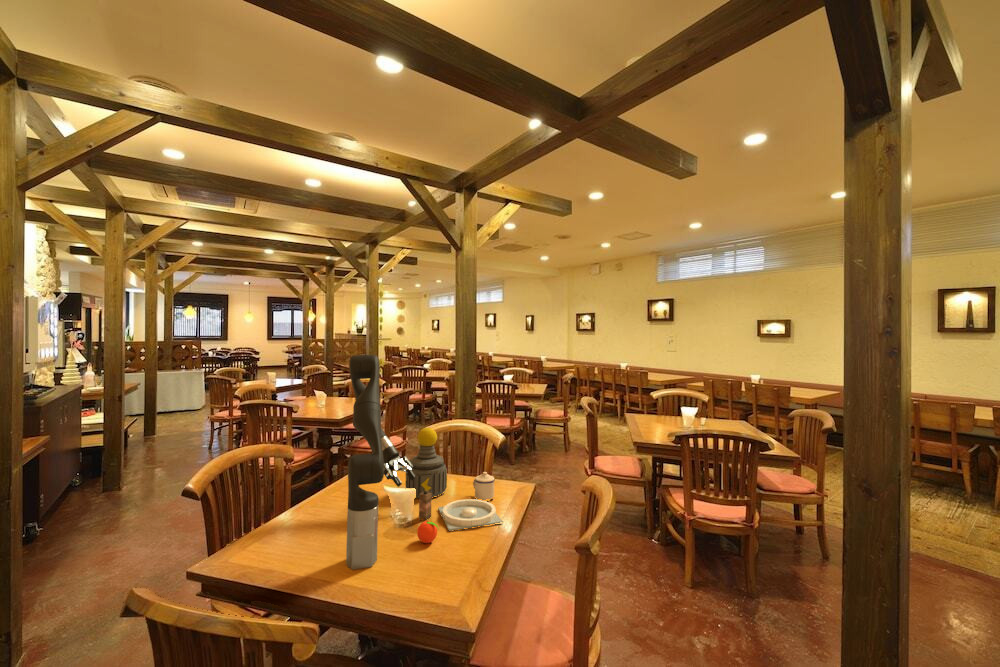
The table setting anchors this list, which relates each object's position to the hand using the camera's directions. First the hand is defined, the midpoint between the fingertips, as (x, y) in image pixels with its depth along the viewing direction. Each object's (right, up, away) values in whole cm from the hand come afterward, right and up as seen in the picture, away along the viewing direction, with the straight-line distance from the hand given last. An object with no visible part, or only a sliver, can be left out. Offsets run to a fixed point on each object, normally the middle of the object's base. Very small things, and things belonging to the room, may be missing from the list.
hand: (407, 482), depth 163 cm
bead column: (+8, -13, -4) cm, 16 cm away
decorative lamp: (+3, -14, +24) cm, 28 cm away
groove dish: (+25, -13, -2) cm, 29 cm away
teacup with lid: (+30, -14, +18) cm, 38 cm away
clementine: (+13, -12, -24) cm, 30 cm away
